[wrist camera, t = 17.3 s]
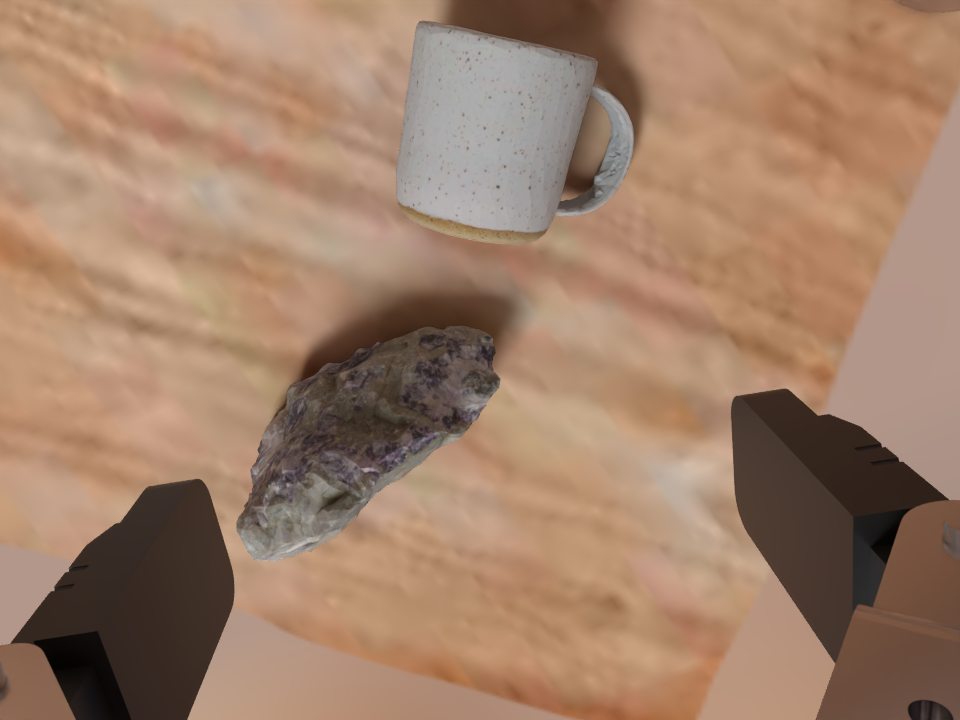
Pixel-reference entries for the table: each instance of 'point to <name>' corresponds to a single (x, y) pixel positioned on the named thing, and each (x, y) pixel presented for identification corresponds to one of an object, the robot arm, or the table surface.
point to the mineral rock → (361, 434)
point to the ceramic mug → (499, 135)
